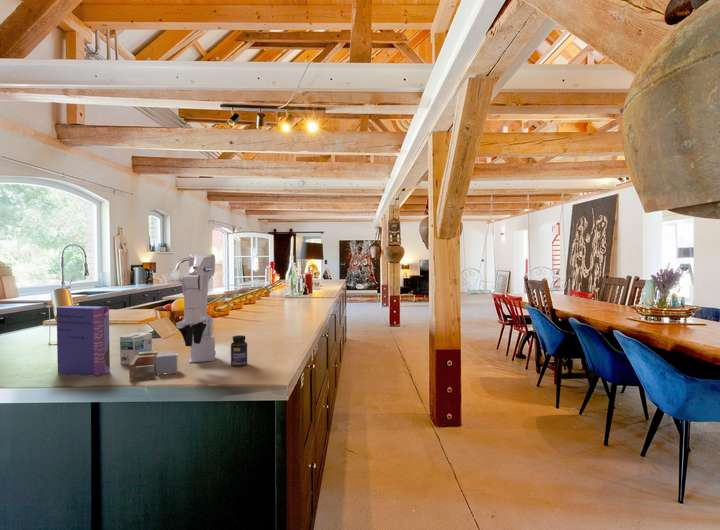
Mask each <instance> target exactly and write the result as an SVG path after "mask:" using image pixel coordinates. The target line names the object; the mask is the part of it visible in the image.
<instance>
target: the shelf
mask: <svg viewBox="0 0 720 530" xmlns="http://www.w3.org/2000/svg"><path fill="white" fill-rule="evenodd" d="M158 353H159V352H158V350H152V351H147V352H139V354H138V355H136V356H135V357H134V359H133V360H132V362H131V363H130V364H128V365H129V370H128V371H129V382H134V381H133V380H135V381H141V380H140V379H145V380H150V379H149V378H154V379H155V376H156V373H155V372H156V370H155V369H156V355H159V354H158ZM154 371H155V372H154ZM154 375H155V376H154Z"/></svg>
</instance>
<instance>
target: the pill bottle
mask: <svg viewBox="0 0 720 530" xmlns="http://www.w3.org/2000/svg"><path fill="white" fill-rule="evenodd" d="M232 341H233V342H231V344H230V366H231V367H233V366H241V367H244V365H245V366H247V365H248V342H246V336H245V335H233V336H232Z"/></svg>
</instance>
